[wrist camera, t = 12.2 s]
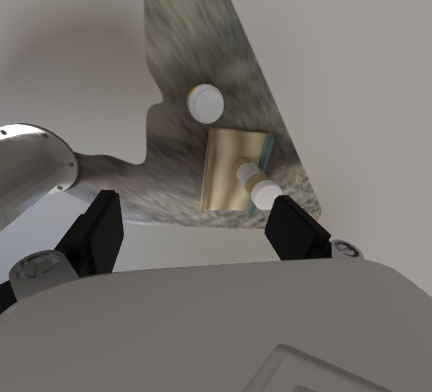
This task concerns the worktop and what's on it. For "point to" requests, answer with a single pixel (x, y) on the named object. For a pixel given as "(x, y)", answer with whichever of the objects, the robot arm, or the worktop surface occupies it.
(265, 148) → the shelf board
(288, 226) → the robot arm
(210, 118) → the supplement bottle
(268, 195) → the sprinkles bottle
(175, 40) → the worktop surface
